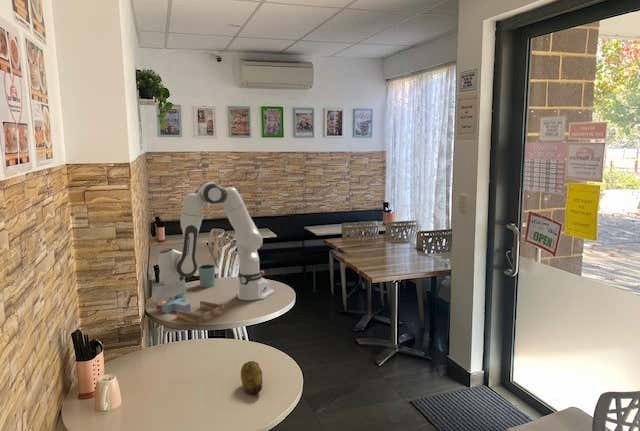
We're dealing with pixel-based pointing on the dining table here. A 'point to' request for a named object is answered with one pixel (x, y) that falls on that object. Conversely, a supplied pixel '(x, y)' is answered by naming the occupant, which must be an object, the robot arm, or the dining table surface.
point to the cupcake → (180, 295)
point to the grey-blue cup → (207, 275)
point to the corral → (214, 311)
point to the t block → (176, 306)
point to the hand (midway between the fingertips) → (170, 305)
